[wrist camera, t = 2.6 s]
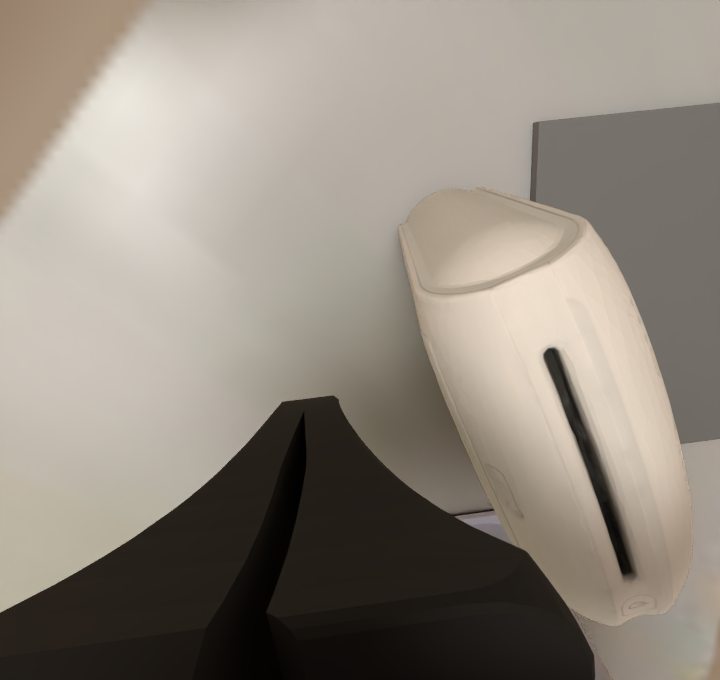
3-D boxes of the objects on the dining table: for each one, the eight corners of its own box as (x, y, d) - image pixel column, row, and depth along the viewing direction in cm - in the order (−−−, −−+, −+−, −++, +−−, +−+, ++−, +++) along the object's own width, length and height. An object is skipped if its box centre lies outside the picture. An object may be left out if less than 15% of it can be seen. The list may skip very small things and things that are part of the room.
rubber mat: (764, 426, 23) (773, 431, 23) (520, 458, 23) (524, 464, 22) (856, 89, 17) (871, 87, 17) (533, 123, 17) (539, 121, 16)
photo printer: (555, 378, 20) (778, 657, 9) (469, 410, 21) (571, 699, 10) (482, 168, 17) (689, 180, 6) (383, 216, 18) (386, 312, 6)
